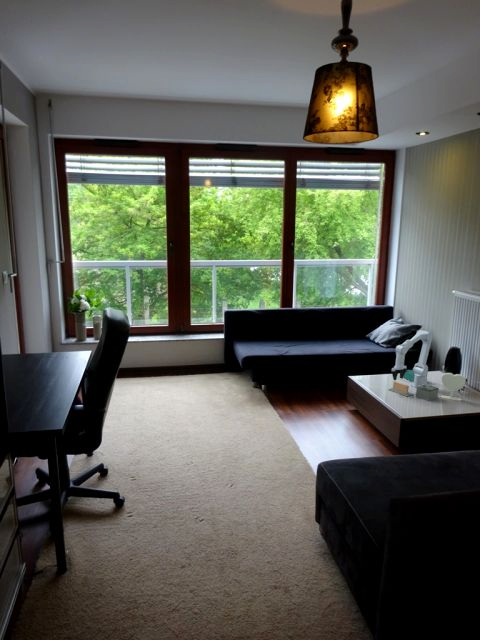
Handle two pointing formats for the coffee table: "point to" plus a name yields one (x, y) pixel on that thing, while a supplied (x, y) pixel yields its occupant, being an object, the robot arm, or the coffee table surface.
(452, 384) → the heart sculpture
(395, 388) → the tall tan wooden post
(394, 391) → the slate mat
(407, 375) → the teal l-shaped bracket
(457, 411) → the coffee table surface
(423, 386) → the dispenser
